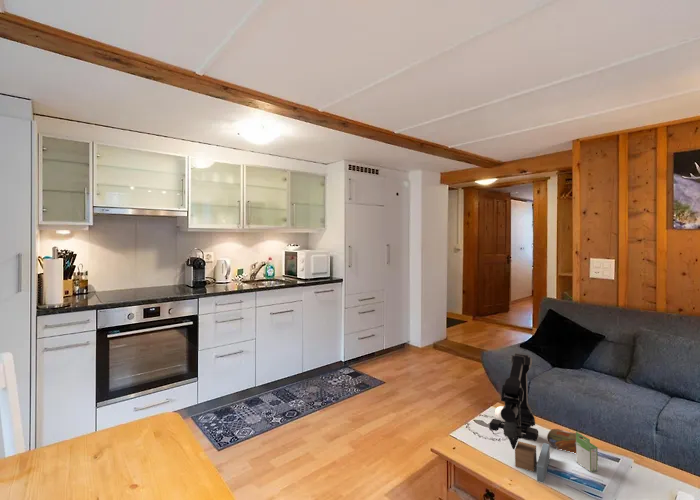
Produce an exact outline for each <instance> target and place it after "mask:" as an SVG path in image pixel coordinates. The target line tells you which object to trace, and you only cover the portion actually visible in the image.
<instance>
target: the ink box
mask: <svg viewBox="0 0 700 500" xmlns="http://www.w3.org/2000/svg"><path fill="white" fill-rule="evenodd" d="M575 433H576V454H575V455H576V463H577V462H578V463H579V464H578V463H577V464H578V465H580V464H581V465H582V466H583V467H582V466H581V465H580V466H581V467H582V468H584V467H585V468H586V469H585V468H584V469H585V470H587V469H588V470H589V471H588V470H587V471H588V472H590V471H592V472H596V471H595V470H598V463H599V462H598V457H599V456H598V455H599V454H598V446H596V445H595V444H593V443H591V439H590V438H589V437H586V436H585V435H583V434H582V433H580V432H578V431H576V432H575ZM579 437H583V439H580V438H579Z"/></svg>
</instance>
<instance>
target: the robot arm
mask: <svg viewBox="0 0 700 500" xmlns="http://www.w3.org/2000/svg"><path fill="white" fill-rule="evenodd" d="M510 357H511V361H510V363H512V365H511V368H510V373H509V377H508V378H506V379H505V381H504V384H502V388H501V389H502V390H501V399H500V402H504V405H503V406H504V407H503V409H502V410H501V417H502V418H503V420H505V422H502V421H501V420H498V419H497V418H492V419H491V421H490V422H489V430H491V431H495V432H497V431H499V430H500V429H503V436H504V437H507V438H508V440H509V443H510V445H511V449H512V450H515V448H516V446H517V444H518V441H519V439H520V440H522V438H523V439H526V440H530V441H533V442H536V441H537V440H538V437H539V430H538V428H534V426H536V419H535V416H534V413H533V412H532V408H531V406H530V404H529V399H528V397H529V396H528V394H529V393H528V392H529V391H528V372H529V370H530V369H531V367H532V364H533V357H531V356H530V355H529V354H524V353H515V354H513V355H511V356H510Z"/></svg>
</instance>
